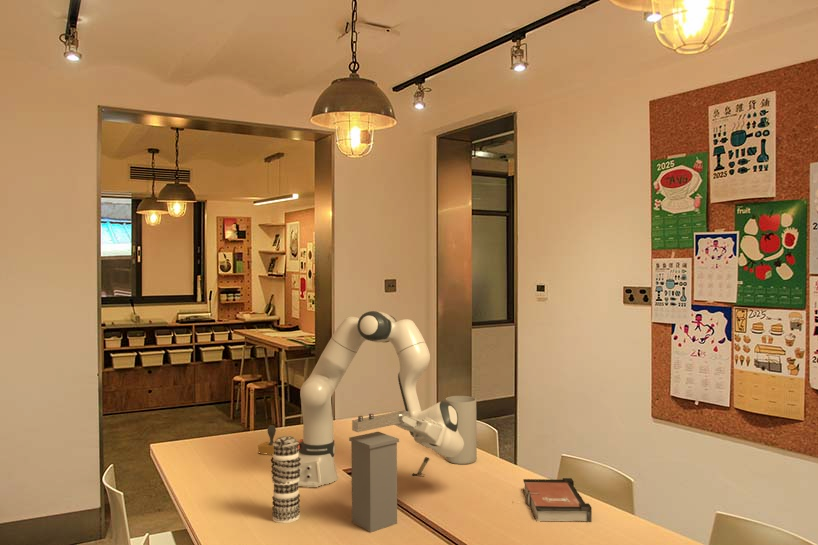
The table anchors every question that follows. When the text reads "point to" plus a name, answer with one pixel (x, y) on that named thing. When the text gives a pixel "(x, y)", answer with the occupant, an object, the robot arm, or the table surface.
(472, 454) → the cylinder vase
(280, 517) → the decorative candle
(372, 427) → the brown wooden bar
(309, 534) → the table surface
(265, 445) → the rubber stamp
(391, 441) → the pedestal
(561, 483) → the book
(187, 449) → the table surface
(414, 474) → the tomahawk
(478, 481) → the table surface
